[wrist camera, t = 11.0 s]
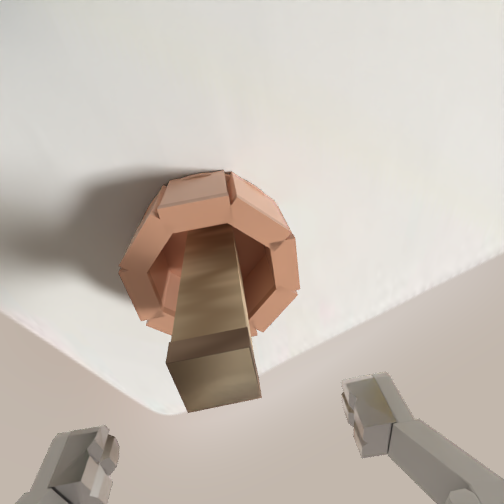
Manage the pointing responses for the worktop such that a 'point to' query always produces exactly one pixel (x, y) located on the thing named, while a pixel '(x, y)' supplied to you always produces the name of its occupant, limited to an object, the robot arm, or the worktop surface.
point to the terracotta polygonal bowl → (201, 216)
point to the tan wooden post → (212, 325)
